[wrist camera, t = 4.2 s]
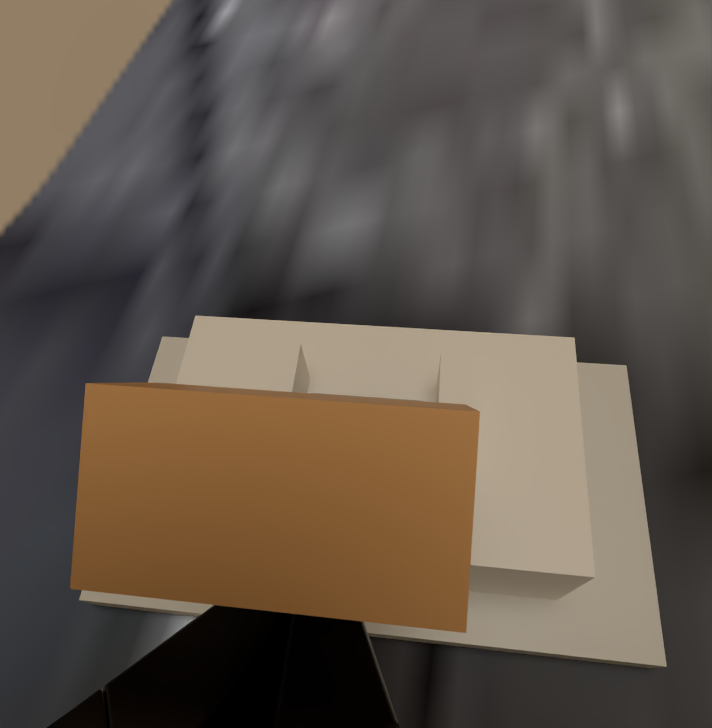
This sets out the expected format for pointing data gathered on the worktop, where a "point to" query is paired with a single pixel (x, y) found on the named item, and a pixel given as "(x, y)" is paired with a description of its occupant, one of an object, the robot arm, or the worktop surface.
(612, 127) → the worktop surface
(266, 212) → the worktop surface
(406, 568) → the lever
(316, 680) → the robot arm
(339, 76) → the worktop surface
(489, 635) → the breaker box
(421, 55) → the worktop surface
